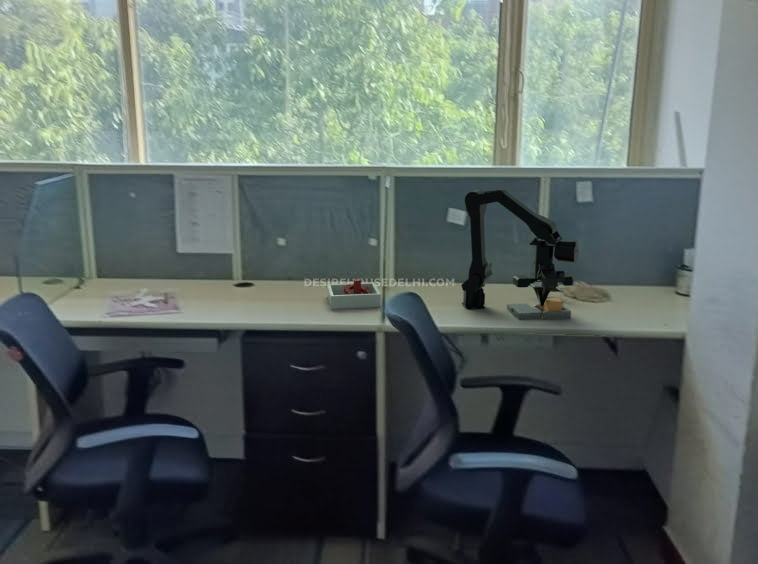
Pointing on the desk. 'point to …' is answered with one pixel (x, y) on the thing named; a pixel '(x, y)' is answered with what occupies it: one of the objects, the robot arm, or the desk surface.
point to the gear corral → (353, 297)
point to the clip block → (553, 304)
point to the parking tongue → (516, 306)
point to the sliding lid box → (541, 313)
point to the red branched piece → (355, 288)
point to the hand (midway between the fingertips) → (541, 305)
